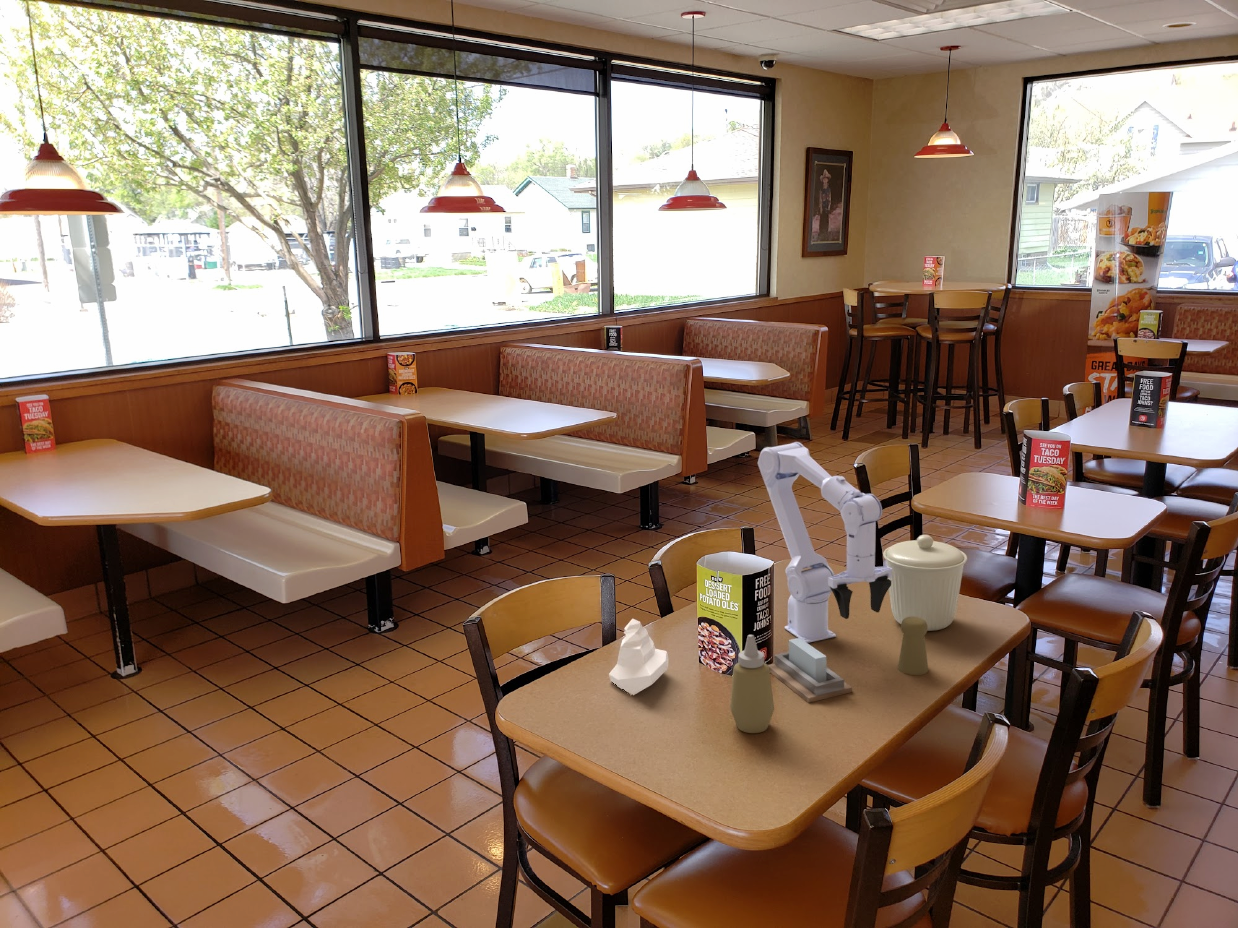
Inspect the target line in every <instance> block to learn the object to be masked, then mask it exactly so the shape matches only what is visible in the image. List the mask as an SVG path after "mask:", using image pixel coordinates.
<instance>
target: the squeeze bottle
mask: <svg viewBox="0 0 1238 928" xmlns="http://www.w3.org/2000/svg"><path fill="white" fill-rule="evenodd" d="M764 654H765V653H764V652H763V651H761V650H758V645H757V642H756V639H755V635H754V634H748V635H747V638H746V642H745V646H744V650H742V651H739V653H738V655H737V656H738V659H737V660H738V662H737V663H735V664H734V666H733V669H732V680H731V681H732V682H731V693H730V705H729V709H730V711H731V715H732V717H733V720H734V722H735V724H736V728H737V729H739V730H740V731H741V732H744V733H747V734H748V733H749V734H759V733H762V732H765V731H767V729H768V727H769V725H770V722H771V720H772V717H773V714H774V711H775V705H774V703H775V702H774V695H773V688H772V681H771V679H772V678H771V673H770V670H769V667H768V665H769V664H767V663H766V662H765V655H764Z"/></svg>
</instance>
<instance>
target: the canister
mask: <svg viewBox="0 0 1238 928" xmlns="http://www.w3.org/2000/svg"><path fill="white" fill-rule="evenodd" d="M882 555H883V558H884V559H885V561H886V566H888V567H890V568H892V569H893V570H892V577H891V578H888V579H889V580H891V586H890V588H889V589H888V593H889V601H890V606H891V612H892V613H891V614H892V615H893V618H894V619H895V620H896V622H897V623H898V624H900V625H901V623H902V621H903V619H904V618H907V617H919V618H922V619H924V620H925V621H926V623H927V632H930V631H931V632H932V631H933V632H934V631H938V630H939V631H940V630H943V629H945V628H947V627H948V626H950V625H951V624H952V623H953V621H954V619H955V615H956V613H957V606H958V602H959V597H960V596H959V595H960V590H961V583H962V578H963V571H964V565H965V564H966V563H967V561H968V556H967V554H966V553H965V552H963V551H962V550H960V549H959V548H958V547H956V546H953V545H951V544H949V543H946V542H941V541H935V540H934V538H933V537H932V536H930V535H928V534H921V535H919V536H918V537H917V538H916V539H915V540H906V541H905V540H904V541H901V542H897V543H895V544H893V545H891V546H888V547H887V548H885V550H884V551H883V554H882Z"/></svg>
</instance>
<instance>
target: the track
mask: <svg viewBox="0 0 1238 928" xmlns="http://www.w3.org/2000/svg"><path fill="white" fill-rule="evenodd" d="M773 659H774V662H773V663H771V664H767V665H768V667H769V670H770V674H771V675H773V677H775V678H777V679H778V680H779V681H781V682H782V683H783V684H784V685H785V686H787V687H788V688H790V689H791V690H792V691H793V692H795V693H796V694H797V695H798V696H799V697H800V698H802V699H803V700H804V701H806V702H807V703H814V702H817V701H822V700H825V699H829V698H834V697H838V696H841V695H844V694H845V695H846V694H849V693H853V686H851V685H850V684H848V683H847V682H845V679H844V678H843V677H841V676H840V675H838V674H837V673H836V672H834V671H833V670H831V669H830V668H829V667H827V666H826V681H825V682H821V683H818V682H817V681H815V680H814V679H813V678H811V677H810V676H809V675H807V674H806V673H805V672H803V671H802V670H800V669H799V668H798V667H796V666H795V665H794V664H792V663H791V662H790V661H789V651H786V652H785V651H784V652H781V653H776V654H774V658H773Z"/></svg>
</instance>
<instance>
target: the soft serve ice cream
mask: <svg viewBox="0 0 1238 928" xmlns="http://www.w3.org/2000/svg"><path fill="white" fill-rule="evenodd" d="M623 629H624V631H623V634H625V636H624V637H623V639H622V640H621V643H620V648H619V652H618V657H617V663H616V664H615V665H614V667H613V668H612V669H611V671H610V672H609V673H608V676H609V681H610V682H611V681H612V682H613V683H614V684H613V683H612V684H613V685H615V684H616V685H617V686H616V685H615V686H616V687H618V688H620V689H621V690H622V689H624V690H625V691H627V692H629V693H631V694H633V696H635V695H636V694H638V693H640V692H641V691H643V690H644V689H647V688H649V687H650V686H652V685H653V684H654V683H655V682H656V681H657V680H658V679H659V678H660V677H661V676H662V675H663V674H664V673H665V672H666V671H667V670H668V668H669V661H670V660H669V655H668V651H667V650H662V649H658V648H656V647H655V642H654V640H652V637H650V636H649V633H648V630H647V628H646V627H644V626H642V622H641V621H640V620H637V619H634V618H632V619H631V620H630V621H629V622H628V624H626V626H625V627H624V628H623ZM624 690H623V691H624ZM625 691H624V692H625Z"/></svg>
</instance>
